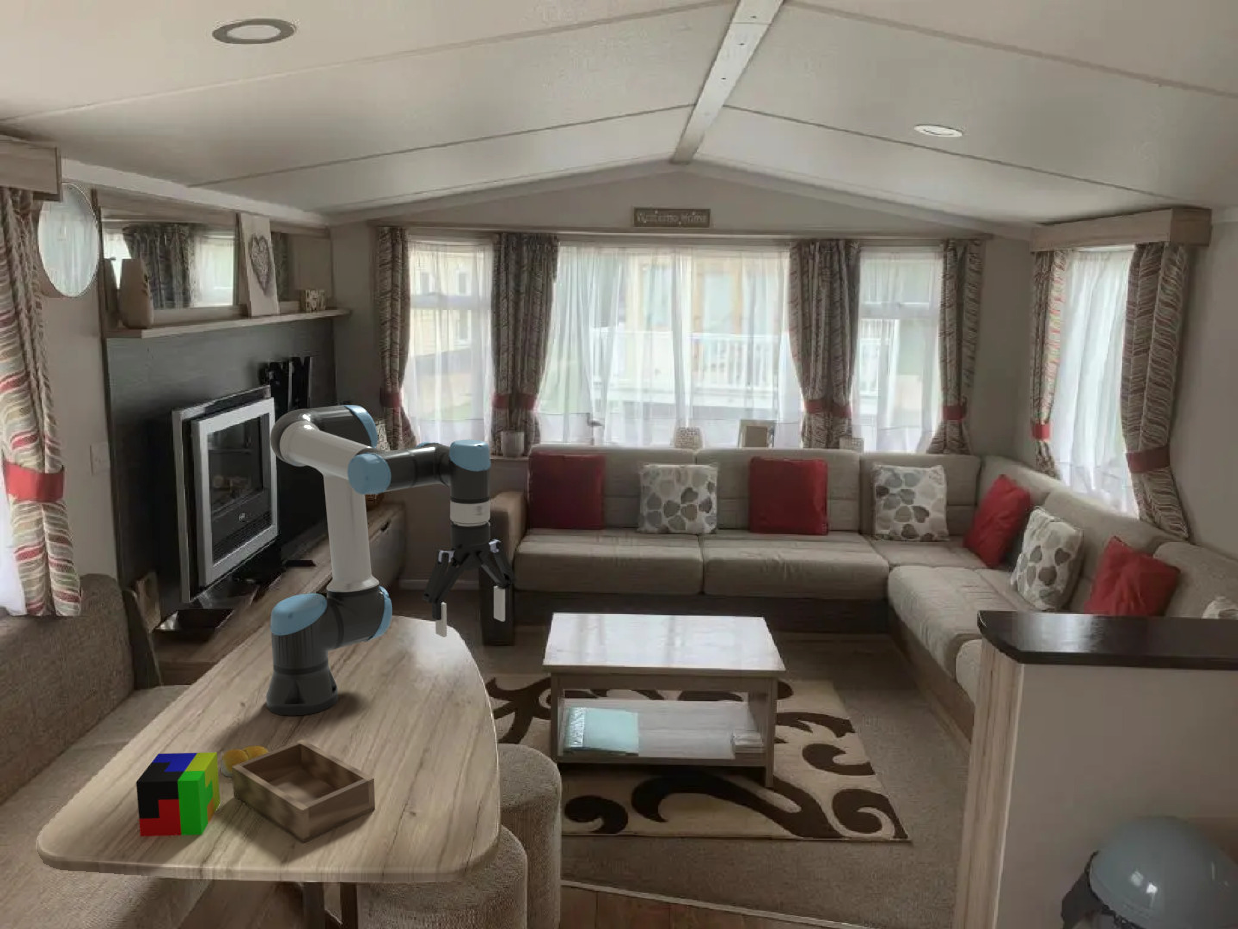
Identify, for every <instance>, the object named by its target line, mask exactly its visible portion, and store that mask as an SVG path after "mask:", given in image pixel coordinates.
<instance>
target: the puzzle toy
mask: <svg viewBox="0 0 1238 929" xmlns="http://www.w3.org/2000/svg"><path fill="white" fill-rule="evenodd" d="M135 785H136V796H137V797H136V798H137V810H138V822H139V836H140V837H165V836H166V837H167V836H169V837H170V836H171V837H172V836H198V835H199V836H202V835H203V833H204V832H205V830H206V829H207V827H208V825H209V823H210V822H211V820H212V819H213V817H214V815H215V813H216V812H215V811H217V810H218V808H219V807H220V805H221V796H220V794H221V793H220V781H219V765H218V752H215V751H214V752H172V753H169V752H168V753H158V754H157V755H156V756H155V758H154V759H153V760H151V762H150V764H149V765H148V766H147V768H145V770H144V771H143V773H142V774H141V775H140V776H139V778H138V779H137V780H136V781H135ZM219 804H220V805H219ZM218 806H219V807H218ZM216 809H217V810H216ZM212 816H213V817H212Z"/></svg>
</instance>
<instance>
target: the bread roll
mask: <svg viewBox="0 0 1238 929" xmlns="http://www.w3.org/2000/svg"><path fill="white" fill-rule="evenodd" d="M268 752H269V750H268V749H266V748H265V747H264V746H261V745H251V746H245V747H244V748H241V749H237V748H235V749H229V750H227V751H226V752H225V753H224V754H223V755H222V758H221V762H220V765H219V766H220V767H219V768H220V771H221V774H222V775H224V776H225V777H230V778H233V776H232V766H235V765H237V764H240V763H243V762H245V761H248V760H250V759H253V758H256V757H258V756H261V755H263V754H266V753H268Z"/></svg>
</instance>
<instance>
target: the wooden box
mask: <svg viewBox="0 0 1238 929" xmlns="http://www.w3.org/2000/svg"><path fill="white" fill-rule="evenodd" d="M232 776H233V777H232V790H233V791H232V792H233V798H234V797H235V798H234V799H236V800H237V801H238V802H240V803H242V804H243V803H244V804H243V805H244V806H246V807H248V808H249V809H251V810H252V809H253V810H252V811H254V812H255V813H257V814H258V815H260V816H262V817H263V818H265V819H266V820H267V821H269V822H271V823H272V824H274V825H275V826H276V827H278V828H280V829H281V830H283V831H284V832H285V833H287V834H288V835H290V836H292V837H294V839H296V840H297V841H299V842H301V843H302V844H305V843H307V842H310V841H311V840H315V838H317V837H320V836H322V835H324V834H327V833H329V832H330V831H333V830H335V829H336V828H339V827H341V826H344V825H345V824H347V823H349V822H351V821H353V820H355V819H357V818H360V817H362V816H364V815H366V814H368V813H370V812H372V811H375V810H376V802H375V801H376V800H375V798H376V797H375V795H376V794H375V793H376V792H375V778H374V777H372V776H371V775H369V774H367V773H365V772H364V771H362V770H361V769H357V768H356V767H355V766H352V765H351V764H349V763H347V762H345V761H343V760H341V759H340V758H338V757H336V756H334V755H332V754H330V753H329V752H327V751H325V750H324V749H321V748H319V747H317V746H316V745H314V744H312V743H310V742H309V741H306V740H305V739H300V740H298V741H295V742H292V743H289V744H287V745H285V746H281V747H278V748H277V749H274V750H271V751H268V753H266V754H263V755H261V756H258V757H256V758H253V759H250V760H248V761H245V762H243V763H240V764H237V765H235V766H232Z"/></svg>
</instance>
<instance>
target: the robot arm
mask: <svg viewBox="0 0 1238 929" xmlns="http://www.w3.org/2000/svg"><path fill="white" fill-rule="evenodd" d="M378 440H379V437H378V430H377V426H376V423H375V422H374V419H373V417H372V416H371V415H370V413H369V412H368V411H367V410H366V408H364V407H362V406H360V405H354V404H351V405H349V404H347V405H346V404H341V405H333V406H331V405H330V406H322V407H314V408H313V407H311V408H300V409H299V408H298V409H295V410H291V411H288V412H287V413H285V414H283V415H282V416H280V417H279V419H277V421H276V422H275V423H274V424H273V426H272V429H271V431H270V436H269V442H270V447H271V449H272V451H273V453H274V454H275V456H277V458H278V459H279V460H281V461H282V462H285V463H287V464H289V465H292V466H294V467H305V466H309V467H311V468H314V469H316V470H317V471H318V472H319V473H321V474H322V476H323V485H324V495H325V498H324V499H325V507H326V517H327V518H326V519H327V531H328V539H329V540H328V542H329V553H330V563H331V576H332V579H331V581H330V582H329V584H328V585H327V586H326V597H325V596H324V595H322V594H321V593H315V592H313V593H312V592H309V593H305V594H304V593H300V594H296V595H292V596H290V597H289V596H288V597H287V598H284V599H282V600H281V601H279V602H278V603H277V604H275V605H274V607H273V608H272V610H271V614H270V624H269V628H270V629H269V630H270V632H271V633H270V634H271V636H270V637H271V650H272V670H273V671H272V674H271V679H270V682H269V686H268V689H267V692H266V695H265V696H266V697H265V699H266V708H267V710H268V711H270V712H271V713H273V714H277V715H280V716H281V715H282V716H288V717H289V716H293V717H294V716H297V717H298V716H306V715H311V714H316V713H319V712H323V711H325V710H327V709H329V708H330V707H333V706H334V705H335V704H336V703H337V702H338V699H339V691H338V685H337V683H336V681H335V677H334V675H333V673H332V671H331V668H330V666H329V663H330V662H329V652H330V651H333V650H337V649H340V648H344V647H349V646H352V645H355V644H358V643H363V642H364V643H366V642H369V641H371V640H373V639H376V638H379V637H381V636H382V635H384V634H385V632H386V631H387V630H388V629H389V628H390V625H391V621H392V618H393V617H392V616H393V607H392V606H393V605H392V600H391V598H390V597H389V593H388V591H387V590H386V589H385V587H382V586H380V581H379V580H378V579H377V578H375V577H374V576H373V575H372V565H371V553H370V542H369V540H370V539H369V530H368V516H367V507H366V506H367V504H366V495H377V494H382V493H386V492H393V491H398V490H404V489H412V488H417V487H424V486H429V485H430V486H431V485H443V486H446V487H449V489H450V492H449V493H450V494H449V495H450V496H449V497H450V498H449V500H450V503H449V504H450V506H449V507H450V509H449V511H450V513H449V514H450V515H449V519H450V520H451V521H452V522H451V523H450V542H451V549H450V550H445V551H444V550H442V549H438V550H437V551H436V558H435V559H436V560H435V563H434V566H433V568H432V570H431V574H430V576H429V579H428V581H427V584H426V586H425V589H424V592H423V594H422V597H421V598H422V600H423V601H425V602H427V603H428V604H431V617H432V619H434V620H435V634H436V635H438V636H440V637H442V638H446V637H447V636H448V635H447V634H448V633H447V628H448V626H447V625H448V624H447V623H448V621H447V619H448V618H447V617H448V616H447V611H448V610H447V603H446V602H444V601H445V600H446V598H447V596H448V595H449V593H450V591H451V590H452V588H453V586H454V585H455V583H456V582H457V580H458V579H459V577H460V576H461V575H463V574H464V572H467V571H471V570H473V569H480V568H482V569H483V570H484V571H485V572H486V574H488V575H489V577H490V578H491V579H492V580H493V581H494V582H495V583H496V586H493V619H495V620H498V621H500V622H505V621H506V604H507V603H508V598H509V596H508V594H509V592H508V590H511V588H512V584H516V583H517V577H516V576H515V572H514V571H513V569H512V567H511V564H510V562H509V560H508V558H507V556H506V553H505V550H504V543H503V542H502V541H500V540H498V539H496V538H494V539H491V523H490V522H489V520H490V519H491V466H492V462H491V454H490V452H491V451H490V446H489V444H488V443H487V442H486V441H483V440H477V439H476V440H475V439H459V440H454V441H453V442H451V443H450V446H449V445H445V444H443V443H439V442H429V441H425V442H424V441H423V442H421V443H419V444H417V445H416V446H415V447H410V448H402V449H395V450H394V449H393V450H381V449H378V448H377V446H378V442H379V441H378ZM490 540H491V541H490ZM490 552H491V553H492V555H493V557H494V559H495V562H496V565H497V567H499V570H500V571H499V570H498V569H497V568H496V566H494V565H493V562H492V561H491V559H490V558H489V557H488V556H489V554H490ZM451 559H452V560H451Z"/></svg>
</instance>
